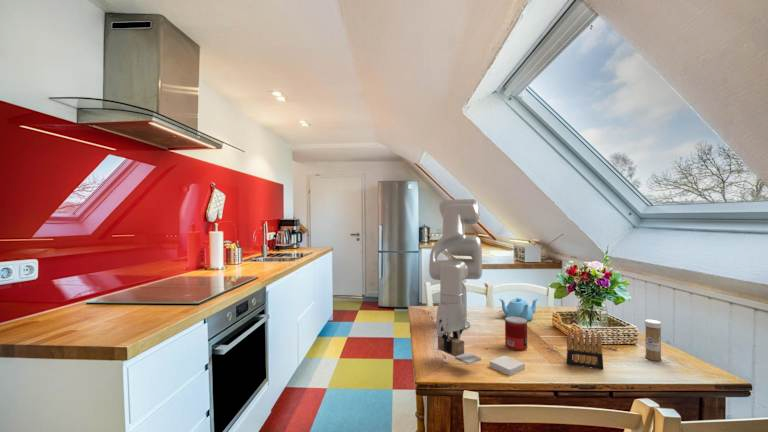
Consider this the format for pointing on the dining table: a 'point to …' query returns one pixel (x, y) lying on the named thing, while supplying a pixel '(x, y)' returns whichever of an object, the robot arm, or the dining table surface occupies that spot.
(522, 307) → the teapot
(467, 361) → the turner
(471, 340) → the dining table surface
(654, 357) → the sprinkles bottle
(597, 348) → the ammunition clip
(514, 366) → the tile
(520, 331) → the canned food
